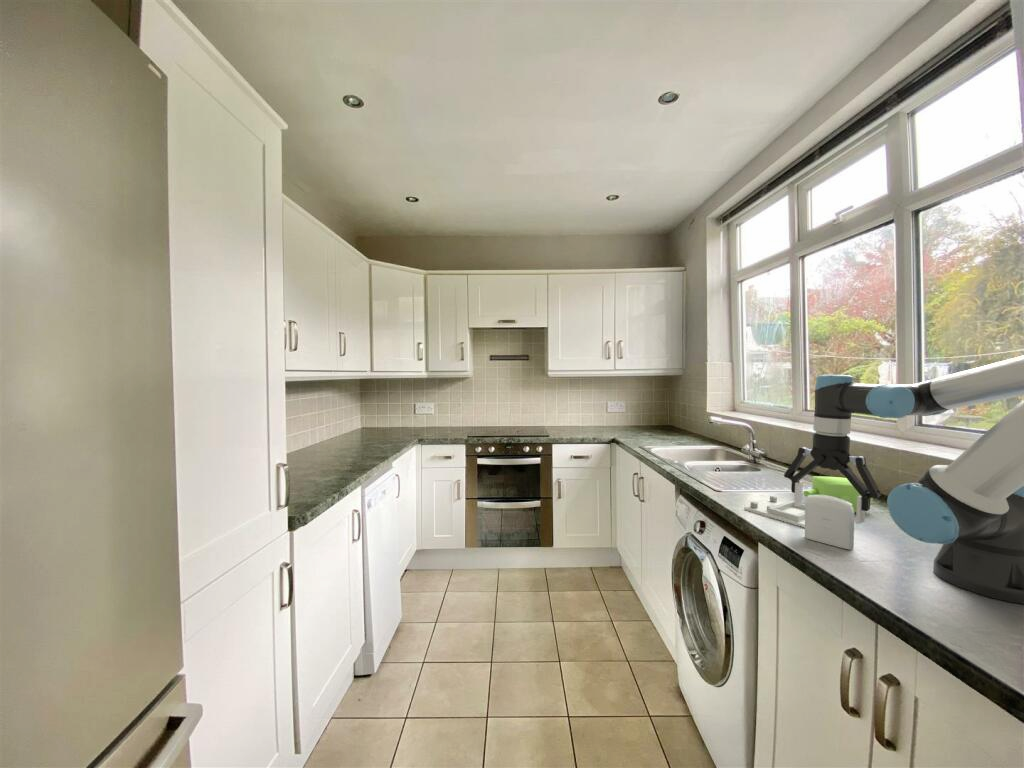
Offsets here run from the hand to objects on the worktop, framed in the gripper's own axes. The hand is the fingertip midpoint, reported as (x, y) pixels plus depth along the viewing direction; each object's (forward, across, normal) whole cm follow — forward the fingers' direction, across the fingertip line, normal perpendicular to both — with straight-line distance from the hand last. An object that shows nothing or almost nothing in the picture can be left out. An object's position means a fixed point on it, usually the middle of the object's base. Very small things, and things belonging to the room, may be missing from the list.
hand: (827, 513), depth 103 cm
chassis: (+8, +14, -14) cm, 21 cm away
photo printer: (+8, 0, 0) cm, 8 cm away
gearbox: (+8, +10, -34) cm, 36 cm away
